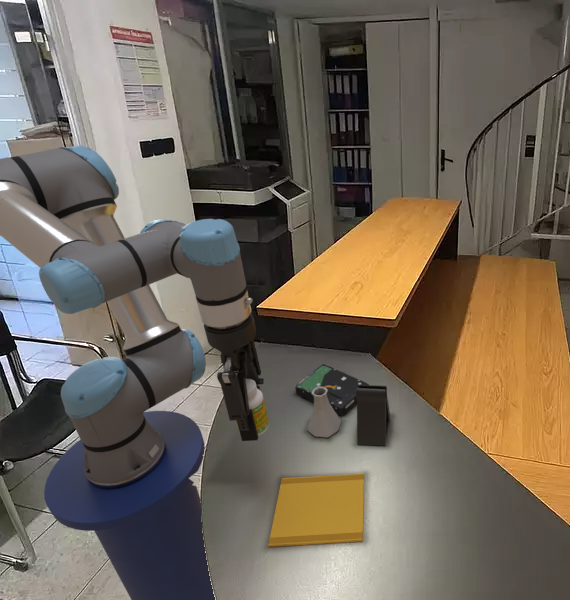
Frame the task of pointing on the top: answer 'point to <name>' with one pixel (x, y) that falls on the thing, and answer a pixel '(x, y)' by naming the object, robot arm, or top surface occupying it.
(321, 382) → the disk drive
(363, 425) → the phone stand
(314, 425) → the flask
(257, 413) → the supplement bottle
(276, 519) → the yellow tray
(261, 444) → the top surface
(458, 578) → the top surface
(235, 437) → the top surface
